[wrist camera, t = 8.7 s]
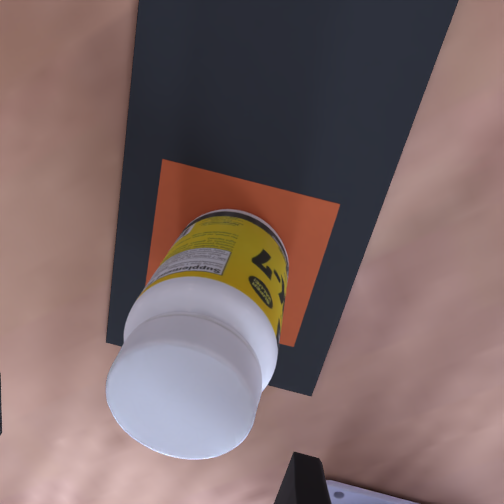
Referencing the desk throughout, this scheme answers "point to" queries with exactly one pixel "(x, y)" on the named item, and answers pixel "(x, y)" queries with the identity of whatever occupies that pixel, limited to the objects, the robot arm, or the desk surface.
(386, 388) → the desk surface
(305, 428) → the desk surface
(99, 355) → the desk surface
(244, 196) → the place mat
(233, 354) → the supplement bottle
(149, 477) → the desk surface
